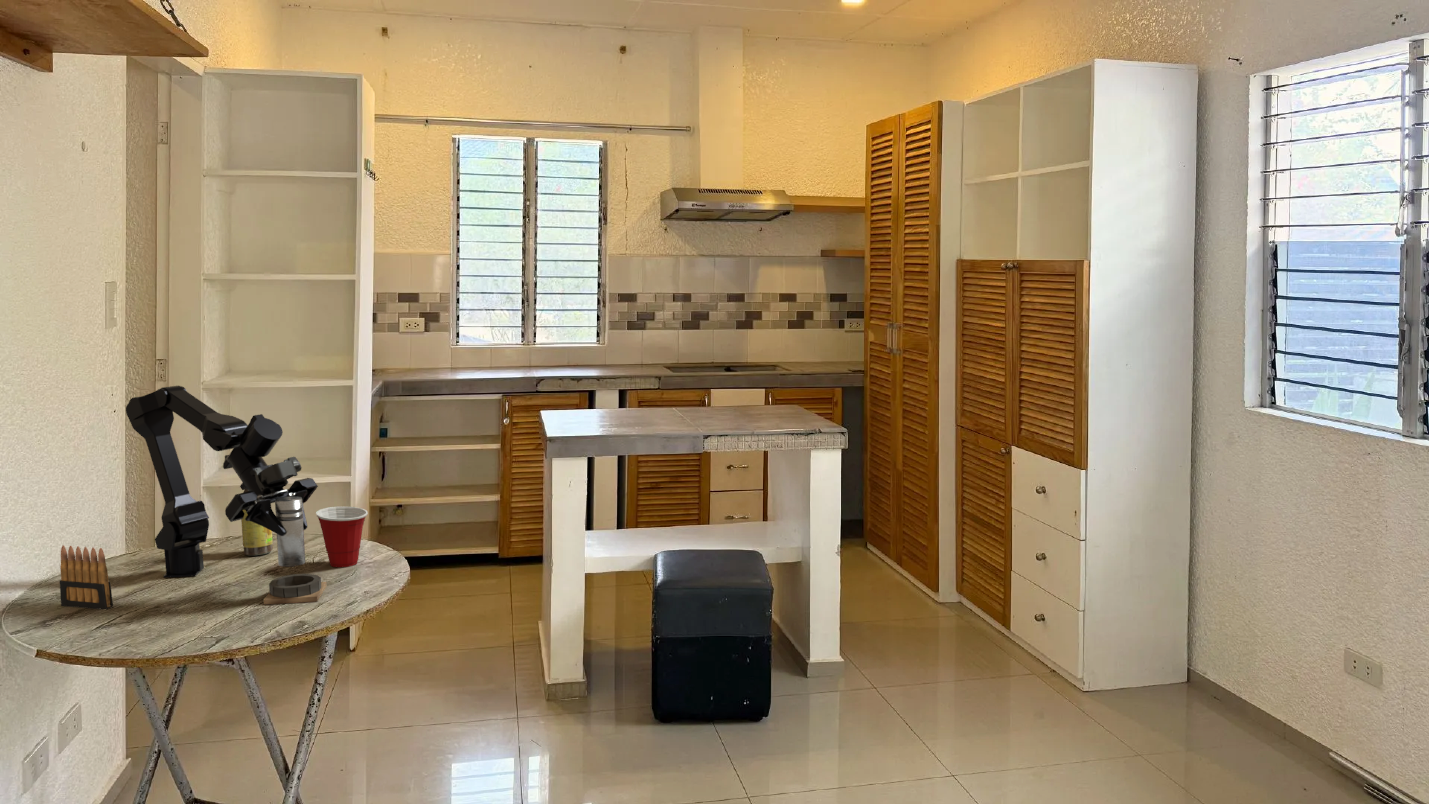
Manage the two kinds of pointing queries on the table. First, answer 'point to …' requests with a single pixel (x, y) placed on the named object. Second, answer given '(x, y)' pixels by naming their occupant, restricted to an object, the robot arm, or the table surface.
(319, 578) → the collar
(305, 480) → the robot arm
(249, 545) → the sauce bottle
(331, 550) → the plastic cup
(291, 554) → the cylinder
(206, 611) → the table surface
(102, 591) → the ammunition clip
